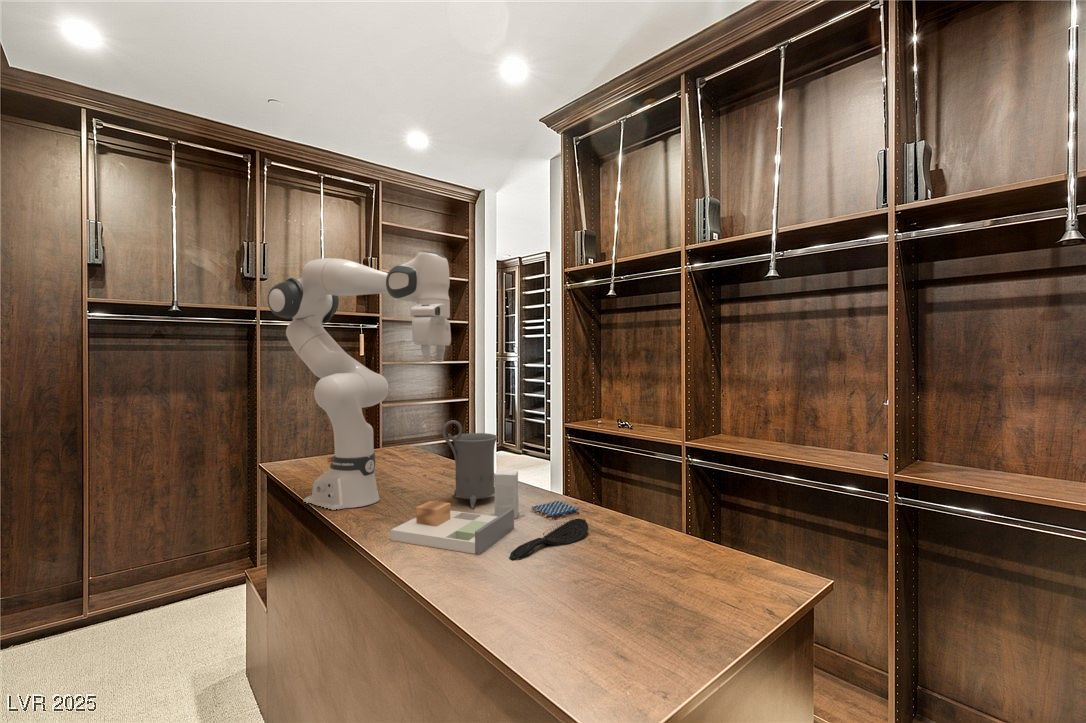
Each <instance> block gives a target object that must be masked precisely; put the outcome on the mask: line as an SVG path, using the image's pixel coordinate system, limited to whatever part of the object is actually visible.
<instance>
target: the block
mask: <svg viewBox="0 0 1086 723" xmlns="http://www.w3.org/2000/svg"><path fill="white" fill-rule="evenodd" d="M415 508H416V510H415V511H416V513H415V514H416V515H415V516H416V517H415V518H416V523H417V524H423V525H430V526H439V525H440V524H442V523H444V522H446V521H448V520H449V519H450V510H451V503H450V502H445V501H444V502H442V501H435V500H429V501H427V502H425V503H423V504H420V505H418V506H416V507H415Z"/></svg>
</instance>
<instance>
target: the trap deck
mask: <svg viewBox="0 0 1086 723" xmlns="http://www.w3.org/2000/svg"><path fill="white" fill-rule="evenodd" d="M514 529H515V519H514V509H511V508H510V509H509V510H507V511H506V512H504V513H503V514H501V515H500V516H498V517H497V516H495V515H488V514H487V515H486V514H481V513H475V512H466V511H457V510H451V509H450V519H449V520H448V521H446V522H444V523H442V524H440V525H439V526H430V525H423V524H417V523H416V517H413V518H411V519H410V520H408V521H405V522H404V523H402V524H400V525H397V526H396V527H393V528H391V529H390V541H393V542H399V543H405V544H413V545H416V546H417V545H418V546H424V547H430V548H435V549H443V550H448V551H449V550H450V551H455V552H460V553H467V554H472V555H481V554H482V553H484V552H485V551H486V550H487V549H489V548H491V546H493V545H494V544H495V543H497V542H498V541H500V540H501V539H502V538H503V537H504V536H506V535H508V533H510V532H511V531H513V530H514Z"/></svg>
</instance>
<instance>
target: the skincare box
mask: <svg viewBox="0 0 1086 723" xmlns="http://www.w3.org/2000/svg"><path fill="white" fill-rule="evenodd" d="M494 487H495V494H494V516H497V517H498V516H500V515H501V514H503V513H504V512H506V511H507V510H509V509H510V508H511V509H514V520H515V519H517V518H518V517H519V509H520V507H519V506H520V505H519V472H518V471H515V470H512V471H511V470H510V471H505V470H503V471H502V470H500V471H499V470H497V471H496V472H494Z"/></svg>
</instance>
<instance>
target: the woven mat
mask: <svg viewBox="0 0 1086 723" xmlns="http://www.w3.org/2000/svg"><path fill="white" fill-rule="evenodd" d="M530 510H531V511H530V513H533V514H535V515H537V516H541V517H543V518H545V519H546V520H549V521H554V520H558V518H559V519H563V518H566V517H572V516H576V515H578V514H580V513H581V512H580V511H579V510H580V508H579V507H578V508H577V507H576V506H573V505H570V504H567V503H565V502H562V501H559V500H558V501H556V500H554V501H553V502H552V501H550V502H549V503H547V502H546V503H544V504H543V503H542V504H540V505H538V504H536V505H532V506H531V509H530Z"/></svg>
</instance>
